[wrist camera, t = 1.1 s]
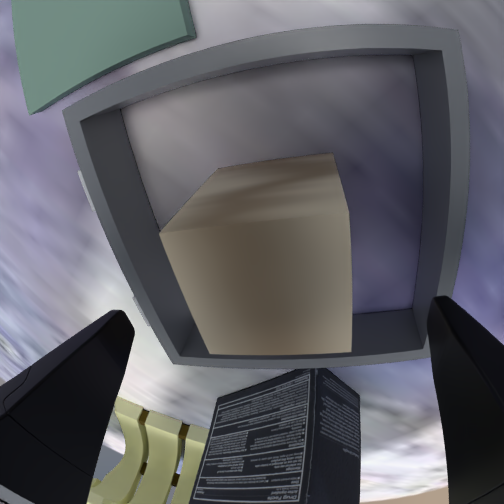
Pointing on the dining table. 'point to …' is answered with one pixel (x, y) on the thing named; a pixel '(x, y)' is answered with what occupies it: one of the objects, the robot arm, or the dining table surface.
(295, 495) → the small box
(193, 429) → the slatted curved stool
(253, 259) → the block
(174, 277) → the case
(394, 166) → the dining table surface
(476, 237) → the dining table surface
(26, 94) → the mat
